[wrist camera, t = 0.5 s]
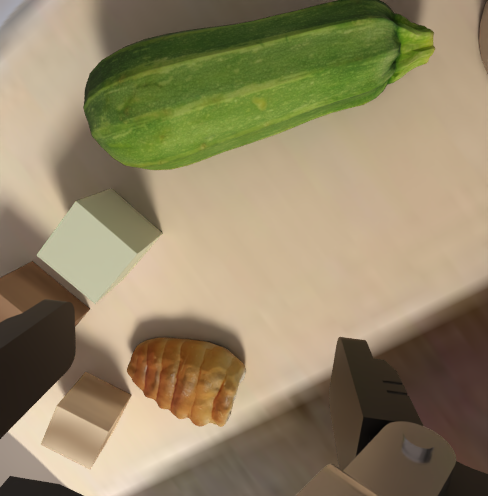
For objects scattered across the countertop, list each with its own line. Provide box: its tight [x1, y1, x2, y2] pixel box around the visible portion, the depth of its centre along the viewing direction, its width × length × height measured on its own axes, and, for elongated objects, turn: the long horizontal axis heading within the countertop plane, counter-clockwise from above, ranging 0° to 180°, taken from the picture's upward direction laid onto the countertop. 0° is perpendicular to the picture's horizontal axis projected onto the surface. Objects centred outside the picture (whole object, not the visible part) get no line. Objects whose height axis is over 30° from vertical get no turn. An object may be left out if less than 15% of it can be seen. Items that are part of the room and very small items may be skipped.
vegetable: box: [83, 0, 435, 170], centre depth 23 cm, size 7×7×20 cm
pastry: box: [127, 338, 246, 427], centre depth 32 cm, size 9×7×4 cm
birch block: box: [41, 372, 131, 469], centre depth 34 cm, size 4×4×4 cm
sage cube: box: [37, 188, 163, 304], centre depth 28 cm, size 5×5×5 cm
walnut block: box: [0, 261, 90, 326], centre depth 31 cm, size 6×6×5 cm
